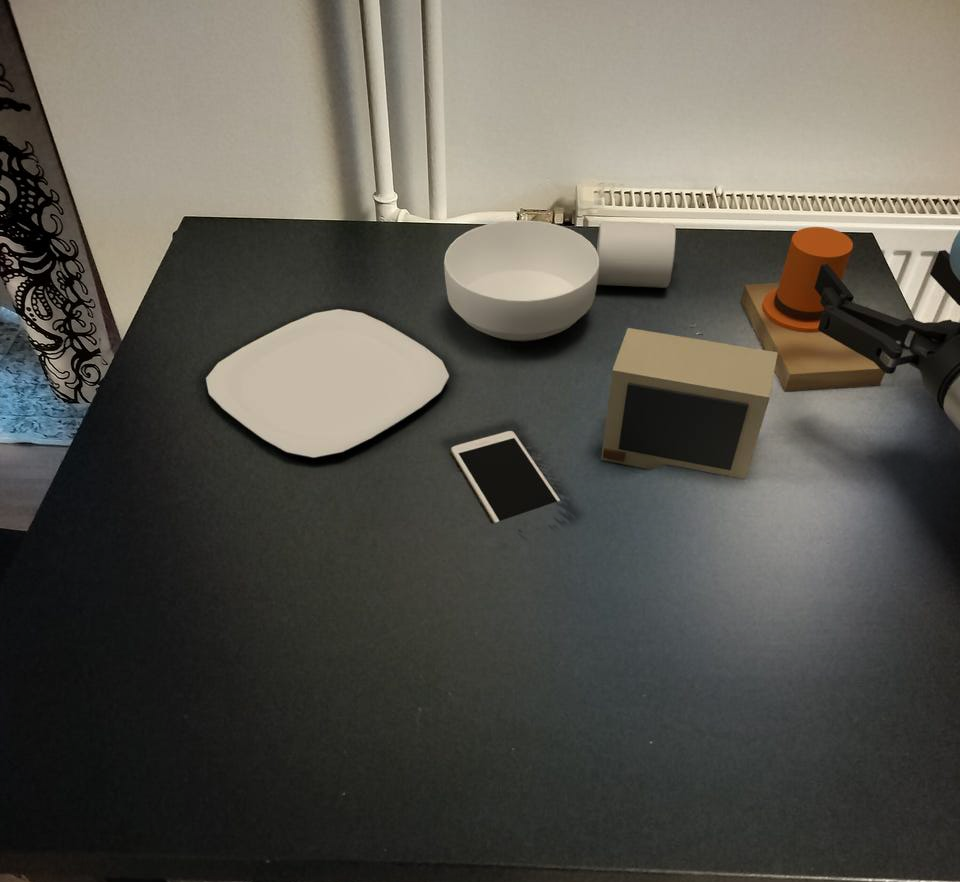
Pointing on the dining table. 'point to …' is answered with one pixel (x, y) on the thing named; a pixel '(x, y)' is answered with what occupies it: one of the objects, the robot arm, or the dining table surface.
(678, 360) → the television
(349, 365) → the plate
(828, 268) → the robot arm
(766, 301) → the hat
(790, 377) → the brown wooden board
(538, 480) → the cell phone
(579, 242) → the bowl
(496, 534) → the dining table surface
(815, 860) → the dining table surface
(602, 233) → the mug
